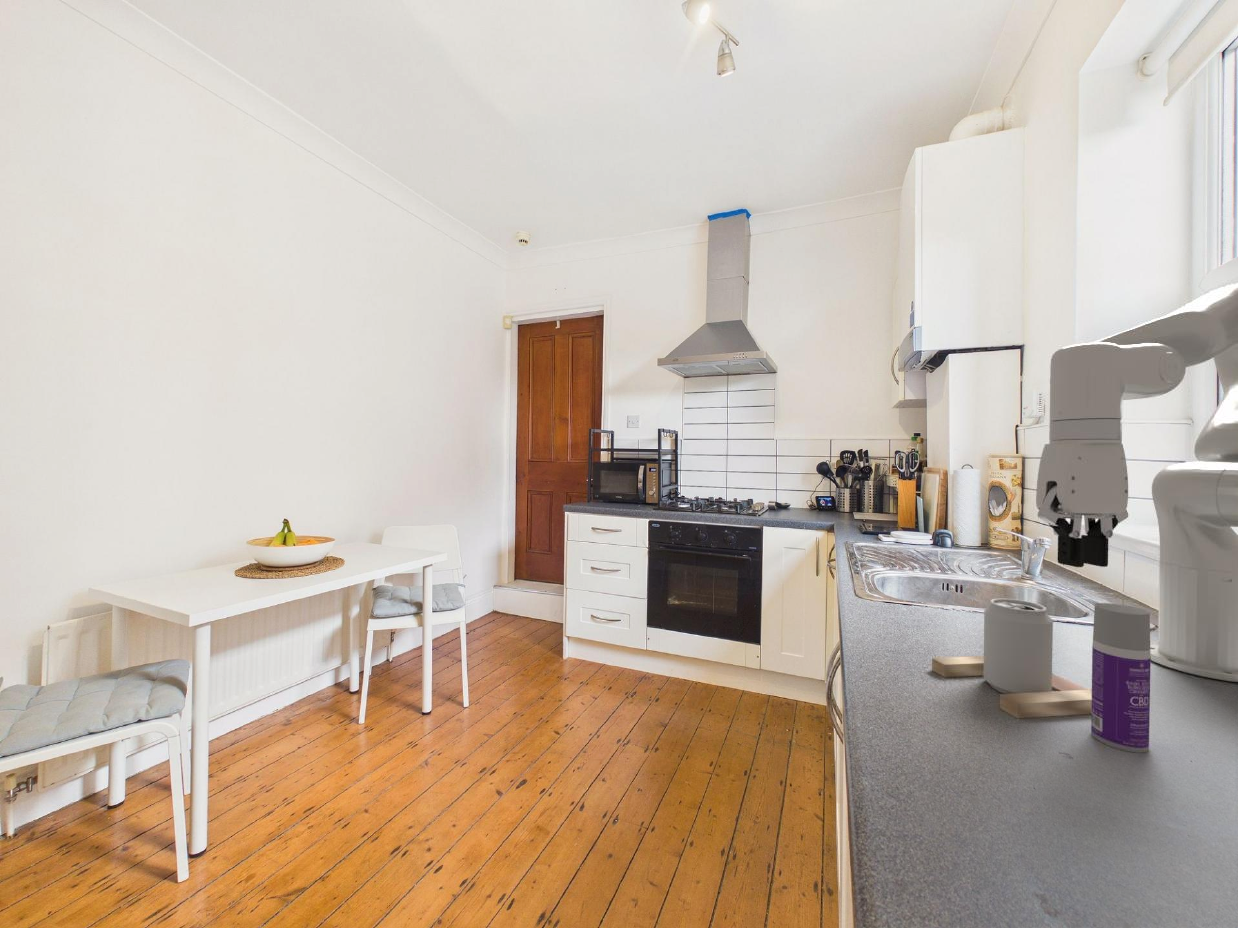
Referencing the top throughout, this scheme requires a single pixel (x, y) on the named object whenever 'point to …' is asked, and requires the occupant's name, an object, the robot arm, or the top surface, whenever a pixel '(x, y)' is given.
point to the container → (1121, 677)
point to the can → (1017, 646)
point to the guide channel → (1024, 705)
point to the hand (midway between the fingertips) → (1082, 563)
